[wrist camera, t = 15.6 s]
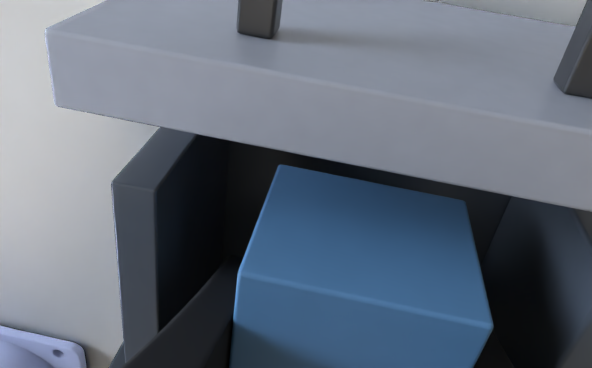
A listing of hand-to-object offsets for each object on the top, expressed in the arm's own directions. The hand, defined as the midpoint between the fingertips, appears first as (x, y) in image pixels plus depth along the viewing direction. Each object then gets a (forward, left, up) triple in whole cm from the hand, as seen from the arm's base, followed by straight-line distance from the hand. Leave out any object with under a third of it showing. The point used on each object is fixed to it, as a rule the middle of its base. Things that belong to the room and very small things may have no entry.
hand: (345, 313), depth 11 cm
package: (0, 0, -1) cm, 1 cm away
